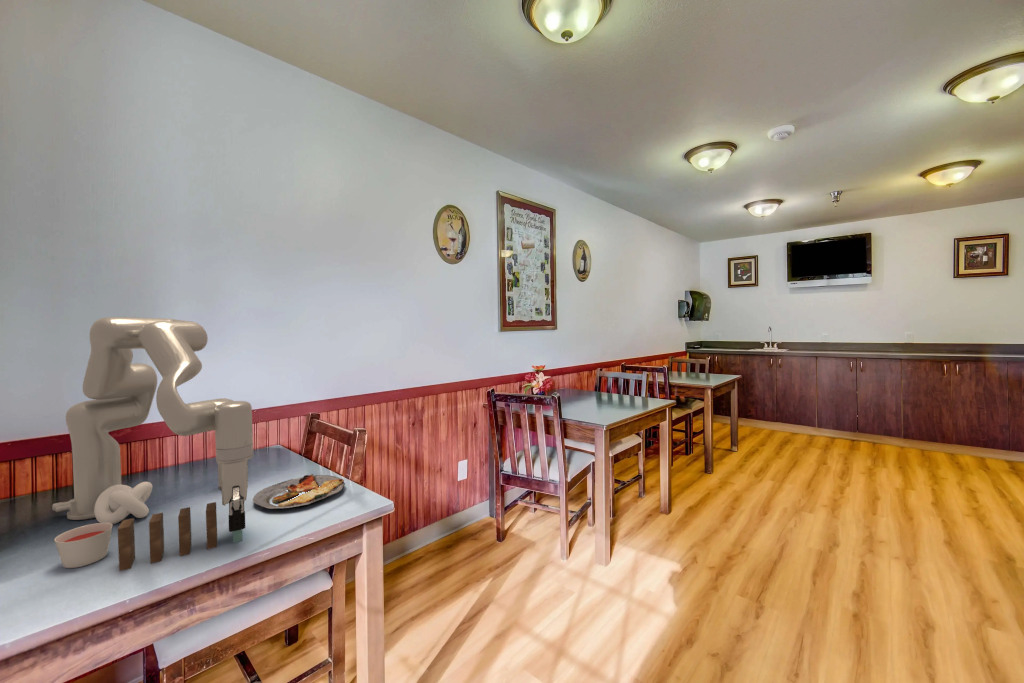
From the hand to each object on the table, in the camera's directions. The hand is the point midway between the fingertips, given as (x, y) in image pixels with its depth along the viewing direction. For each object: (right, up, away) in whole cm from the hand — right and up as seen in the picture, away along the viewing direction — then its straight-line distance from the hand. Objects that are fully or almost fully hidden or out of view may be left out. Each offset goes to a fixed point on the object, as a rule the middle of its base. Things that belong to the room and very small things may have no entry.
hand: (237, 522), depth 101 cm
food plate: (+3, -4, +26) cm, 26 cm away
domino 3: (-8, -4, -5) cm, 11 cm away
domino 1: (-17, -4, -11) cm, 20 cm away
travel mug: (-25, -3, +34) cm, 42 cm away
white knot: (-37, -4, +11) cm, 39 cm away
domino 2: (-12, -4, -8) cm, 15 cm away
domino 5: (0, -4, 0) cm, 4 cm away
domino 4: (-4, -4, -3) cm, 6 cm away
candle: (-28, -5, -9) cm, 29 cm away
